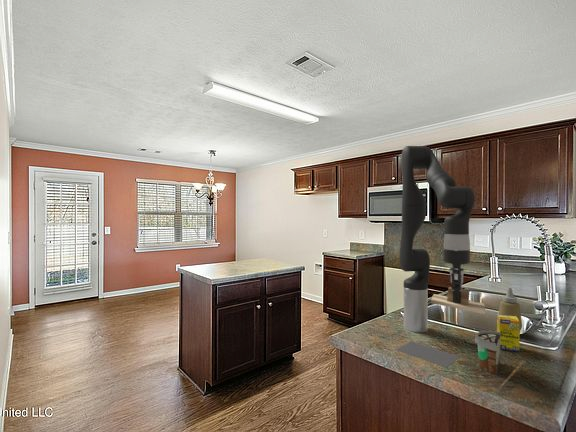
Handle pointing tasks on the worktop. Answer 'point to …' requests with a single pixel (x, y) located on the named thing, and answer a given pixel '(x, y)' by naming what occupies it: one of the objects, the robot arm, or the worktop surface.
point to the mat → (428, 354)
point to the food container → (488, 350)
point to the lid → (463, 305)
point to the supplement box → (508, 332)
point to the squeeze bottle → (510, 306)
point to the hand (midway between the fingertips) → (457, 301)
